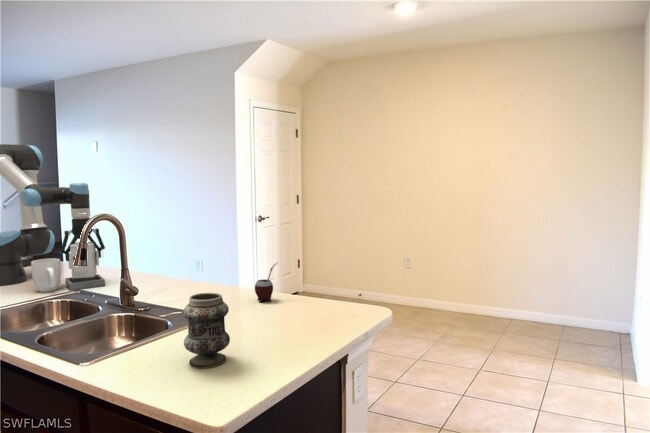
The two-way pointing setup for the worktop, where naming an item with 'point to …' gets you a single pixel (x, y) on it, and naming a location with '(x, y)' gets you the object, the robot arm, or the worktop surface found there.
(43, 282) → the mug
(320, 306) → the worktop surface
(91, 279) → the tray
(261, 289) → the mate gourd
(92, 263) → the supplement box
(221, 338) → the apothecary jar
